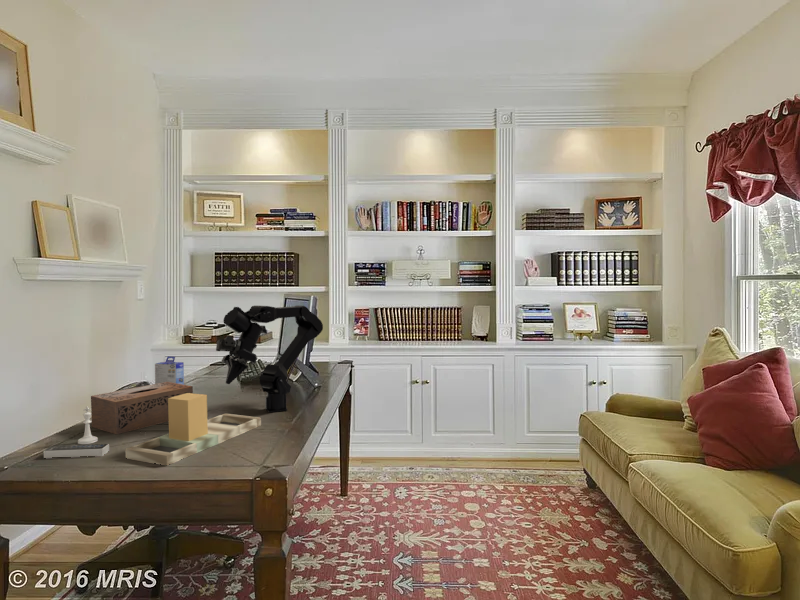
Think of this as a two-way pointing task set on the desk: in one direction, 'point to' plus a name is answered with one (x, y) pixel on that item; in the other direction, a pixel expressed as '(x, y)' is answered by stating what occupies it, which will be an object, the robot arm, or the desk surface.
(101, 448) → the multiport hub
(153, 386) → the tissue box cover
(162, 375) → the ink cartridge box
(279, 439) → the desk surface
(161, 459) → the trap board
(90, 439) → the chess piece
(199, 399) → the ochre block
